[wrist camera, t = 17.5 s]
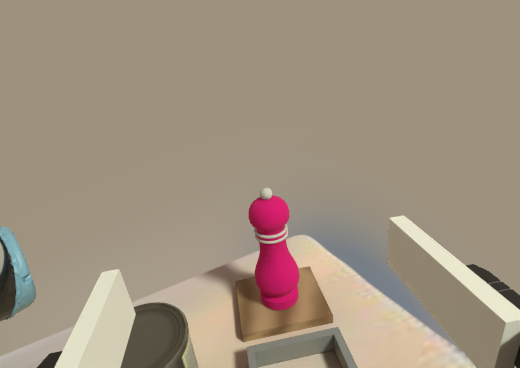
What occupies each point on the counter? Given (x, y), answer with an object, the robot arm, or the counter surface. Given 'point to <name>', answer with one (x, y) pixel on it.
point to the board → (281, 321)
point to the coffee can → (159, 339)
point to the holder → (301, 348)
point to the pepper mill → (274, 252)
